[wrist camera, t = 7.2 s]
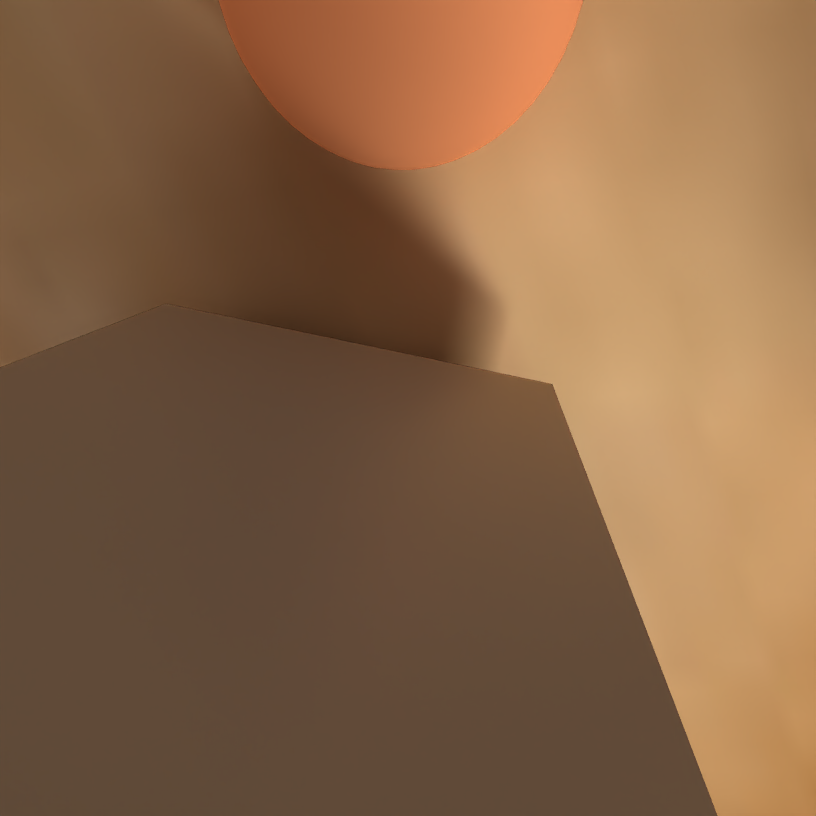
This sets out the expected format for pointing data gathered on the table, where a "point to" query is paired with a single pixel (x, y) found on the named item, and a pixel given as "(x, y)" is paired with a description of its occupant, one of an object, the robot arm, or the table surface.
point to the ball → (401, 70)
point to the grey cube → (312, 589)
